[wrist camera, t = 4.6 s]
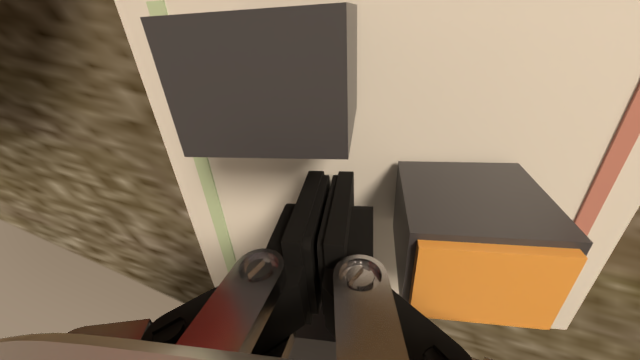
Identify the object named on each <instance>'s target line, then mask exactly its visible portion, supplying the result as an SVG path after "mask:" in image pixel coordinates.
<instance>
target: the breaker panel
mask: <svg viewBox="0 0 640 360" xmlns="http://www.w3.org/2000/svg"><path fill="white" fill-rule="evenodd" d="M114 1H115V4H116V7H117V9H118V12H119V15H120V18H121V21H122V24H123V27H124V30H125V32H126V35H127V38H128V41H129V44H130V47H131V50H132V52H133V55H134V58H135V61H136V64H137V67H138V70H139V72H140V75H141V78H142V81H143V84H144V87H145V90H146V93H147V95H148V98H149V101H150V104H151V107H152V110H153V113H154V115H155V118H156V121H157V124H158V127H159V130H160V133H161V136H162V138H163V141H164V144H165V147H166V150H167V153H168V156H169V158H170V161H171V164H172V167H173V170H174V173H175V176H176V178H177V181H178V184H179V187H180V190H181V193H182V196H183V199H184V201H185V204H186V207H187V210H188V213H189V216H190V219H191V221H192V224H193V227H194V230H195V233H196V236H197V239H198V242H199V244H200V247H201V250H202V253H203V256H204V259H205V262H206V264H207V267H208V270H209V273H210V276H211V279H212V282H213V284H214V287H217V286H219V285H220V283H221V282H222V281H223V279H224V278H225V277H226V275H227V274H228V273H229V271H230V270H231V268H232V267H233V266H234V264H235V263H236V262H237V261H238V260H239V259H240V258H241V257H242V256H243V255H245V254H246V253H248V252H250V251H253V250H256V249H262V248H264V249H266V247H267V244H268V242H269V240H270V238H271V236H272V233H273V231H274V229H275V227H276V224H277V222H278V220H279V218H280V215H281V213H282V211H283V209H284V207H285V205H286V204H287V203H292V204H296V202H297V199H298V197H299V194H300V192H301V189H302V187H303V184H304V182H305V179H306V177H307V174H308V172H309V171H324V175H329V177H330V186H331V181H332V177H333V175H338V173H339V171H352V172H354V206H373V258H375V259H377V260H378V261H380V262H381V263H382V264H383V265H384V266H385V269H386V271H387V273H388V277H389V281H390V285H391V289H393V290H394V291H395V292H396V293H397V294H399V289H398V278H397V267H396V256H395V245H394V234H393V217H394V205H395V193H396V181H397V169H398V161H419V162H482V163H519V164H520V165H521V166H522V167H523V169H524V170H525V171H526V172H527V173H528V174H529V175H530V176H531V177H532V178H533V179H534V180H535V181H536V182H537V183H538V184H539V186H540V187H541V188H542V189H543V190H544V191H545V192H546V193H547V194H548V195H549V196H550V197H551V198H552V199H553V200H554V202H555V203H556V204H557V205H558V206H559V207H560V208H561V209H562V210H563V211H564V212H565V213H566V214H567V215H568V216H569V218H570V219H571V220H572V221H573V222H574V223H575V224H576V225H577V226H578V227H579V228H580V229H581V230H582V231H583V232H584V234H585V235H586V236H587V237H588V238H589V239H590V240H591V241H592V242H593V244H592V246H591V248H590V250H589V252H588V254H587V256H586V257H587V258H588V259H587V261H586V263H585V265H584V267H583V269H582V271H581V272H580V274H579V276H578V278H577V280H576V282H575V283H574V285H573V287H572V289H571V291H570V293H569V294H568V296H567V298H566V300H565V302H564V304H563V306H562V307H561V309H560V311H559V313H558V315H557V317H556V318H555V320H554V322H553V324H552V326H551V328H554V329H564V330H566V329H567V328H568V326H569V324H570V322H571V321H572V319H573V317H574V316H575V314H576V312H577V311H578V309H579V307H580V305H581V304H582V302H583V300H584V299H585V297H586V295H587V294H588V292H589V290H590V289H591V287H592V285H593V283H594V282H595V280H596V278H597V277H598V275H599V273H600V272H601V270H602V268H603V267H604V265H605V263H606V261H607V260H608V258H609V256H610V255H611V253H612V251H613V250H614V248H615V246H616V244H617V243H618V241H619V239H620V238H621V236H622V234H623V233H624V231H625V229H626V228H627V226H628V224H629V222H630V221H631V219H632V217H633V216H634V214H635V212H636V211H637V209H638V207H639V206H640V0H114ZM288 359H294V360H337V358H336V339H335V338H334V337H333V336H332V334H331V333H330V332H329V331H328V330H327V328H326V326H325V315H323V310H322V300H321V305H320V310H319V314H313V317H312V322H311V325H309V324H305V325H304V326H303V327H301V328H300V329H298V330H297V331H296V338H295V342H294V344H293V347H292V349H291V352H290V354H289V357H288Z"/></svg>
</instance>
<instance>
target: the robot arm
mask: <svg viewBox="0 0 640 360" xmlns="http://www.w3.org/2000/svg"><path fill="white" fill-rule="evenodd" d="M321 300H322V310H323V315H325V326H326V328H327V330H328V331H329V332H330V333H331V334H332V336H333V337H334V338H335V339H336V358H337V360H479V359H475V358H472V357H470V355H469V354H468V353H467V352H466V351H465V350H464V349H463V348H462V347H461V346H460V345H459V344H457V343H456V342H455V341H454V340H453V339H451V338H450V337H449V336H448V335H447V334H445V333H444V332H443V331H442V330H441V329H439V328H438V327H437V326H436V325H435V324H433V323H432V322H431V321H430V320H429V319H427V318H426V317H425V316H424V315H423V314H421V313H420V312H419V311H418V310H417V309H415V308H414V307H413V306H412V305H411V304H409V303H408V302H407V301H406V300H405V299H403V298H402V297H401V296H400V295H399V294H397V293H396V292H395V291H394V290H393V289H391V285H390V281H389V277H388V273H387V271H386V269H385V266H384V265H383V264H382V263H381V262H380V261H378V260H377V259H375V258H373V206H354V172H352V171H339V173H338V175H333V177H332V181H331V186H330V177H329V175H324V171H309V172H308V174H307V177H306V179H305V182H304V184H303V187H302V189H301V192H300V194H299V197H298V199H297V202H296V204H292V203H287V204H286V205H285V207H284V209H283V211H282V213H281V215H280V218H279V220H278V222H277V224H276V227H275V229H274V231H273V233H272V236H271V238H270V240H269V242H268V244H267V247H266V249H264V248H262V249H256V250H253V251H250V252H248V253H246V254H245V255H243V256H242V257H241V258H240V259H239V260H238V261H237V262H236V263H235V264H234V266H233V267H232V268H231V270H230V271H229V273H228V274H227V275H226V277H225V278H224V279H223V281H222V282H221V283H220V285H219V286H217V287H215V288H213V289H211V290H210V291H208V292H206V293H204V294H202V295H200V296H198V297H196V298H194V299H192V300H191V301H189V302H187V303H185V304H183V305H181V306H179V307H177V308H175V309H173V310H172V311H170V312H168V313H166V314H164V315H163V316H161V317H160V318H158V319H157V320H156V321H155V322H151V320H150V319H144V320H136V321H126V322H118V323H110V324H101V325H92V326H84V327H80V328H77V329H74V330H72V331H70V332H68V333H45V334H44V333H42V334H29V335H21V336H14V337H7V338H2V339H0V360H294V359H288V357H289V354H290V352H291V349H292V347H293V344H294V342H295V338H296V331H297V330H298V329H300V328H301V327H303V326H304V325H305V324H309V325H311V322H312V317H313V314H319V310H320V305H321ZM484 360H493V359H490V358H487V357H484Z"/></svg>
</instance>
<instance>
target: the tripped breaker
mask: <svg viewBox="0 0 640 360" xmlns="http://www.w3.org/2000/svg"><path fill="white" fill-rule="evenodd" d="M393 234H394V245H395V256H396V267H397V278H398V289H399V295H400V296H401V297H402V298H403V299H405V300H406V301H407V302H408V303H409V304H411V305H412V306H413V307H414V308H415V309H417V310H418V311H419V312H420V313H421V314H423V315H424V316H425V317H426V318H434V319H444V320H454V321H464V322H474V323H484V324H494V325H504V326H514V327H524V328H535V329H545V330H549V329H550V328H551V326H552V324H553V322H554V320H555V318H556V317H557V315H558V313H559V311H560V309H561V307H562V306H563V304H564V302H565V300H566V298H567V296H568V294H569V293H570V291H571V289H572V287H573V285H574V283H575V282H576V280H577V278H578V276H579V274H580V272H581V271H582V269H583V267H584V265H585V263H586V261H587V259H588V258H587V257H586V256H587V254H588V252H589V250H590V248H591V246H592V244H593V242H592V241H591V240H590V239H589V238H588V237H587V236H586V235H585V234H584V232H583V231H582V230H581V229H580V228H579V227H578V226H577V225H576V224H575V223H574V222H573V221H572V220H571V219H570V218H569V216H568V215H567V214H566V213H565V212H564V211H563V210H562V209H561V208H560V207H559V206H558V205H557V204H556V203H555V202H554V200H553V199H552V198H551V197H550V196H549V195H548V194H547V193H546V192H545V191H544V190H543V189H542V188H541V187H540V186H539V184H538V183H537V182H536V181H535V180H534V179H533V178H532V177H531V176H530V175H529V174H528V173H527V172H526V171H525V170H524V169H523V167H522V166H521V165H520V164H519V163H482V162H419V161H398V169H397V181H396V193H395V205H394V217H393Z"/></svg>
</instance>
